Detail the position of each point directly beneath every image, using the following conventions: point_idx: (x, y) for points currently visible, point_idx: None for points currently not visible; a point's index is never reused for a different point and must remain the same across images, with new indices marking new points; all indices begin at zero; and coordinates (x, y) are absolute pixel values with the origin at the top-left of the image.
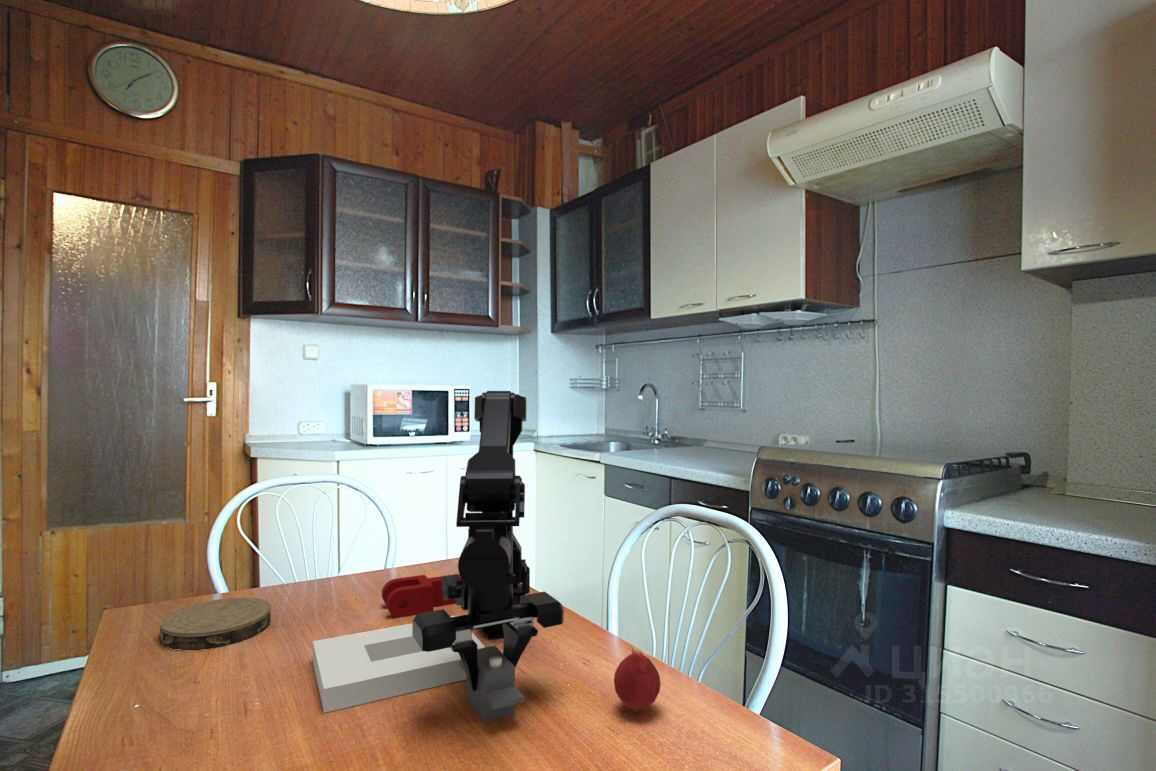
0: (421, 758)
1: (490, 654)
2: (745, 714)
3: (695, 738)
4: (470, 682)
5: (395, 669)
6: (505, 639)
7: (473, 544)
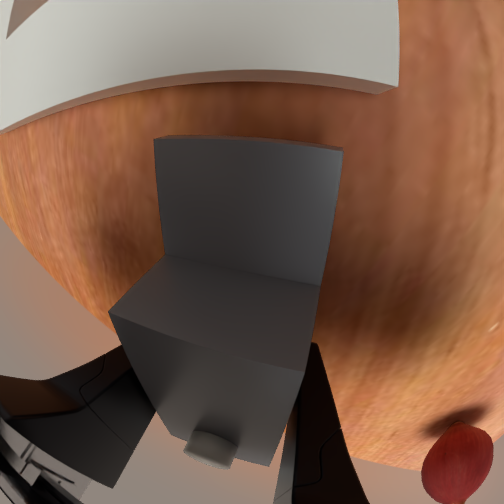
0: None
1: (223, 409)
2: None
3: None
4: None
5: (20, 94)
6: (288, 492)
7: None
